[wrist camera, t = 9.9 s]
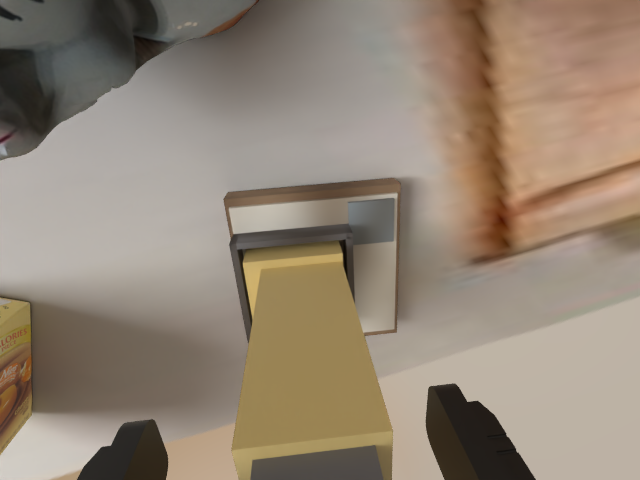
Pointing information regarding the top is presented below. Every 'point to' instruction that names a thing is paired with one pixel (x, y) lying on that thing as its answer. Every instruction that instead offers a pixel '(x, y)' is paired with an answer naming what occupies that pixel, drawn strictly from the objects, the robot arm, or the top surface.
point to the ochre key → (285, 260)
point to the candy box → (14, 368)
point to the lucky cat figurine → (86, 54)
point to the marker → (310, 384)
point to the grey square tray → (327, 237)
